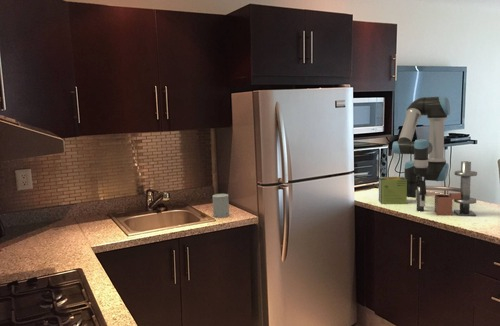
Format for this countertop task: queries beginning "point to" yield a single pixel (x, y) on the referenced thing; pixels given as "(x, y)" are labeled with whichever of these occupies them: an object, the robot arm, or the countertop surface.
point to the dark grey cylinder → (419, 208)
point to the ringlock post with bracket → (458, 195)
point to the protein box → (393, 190)
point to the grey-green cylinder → (220, 205)
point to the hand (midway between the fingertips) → (420, 203)
